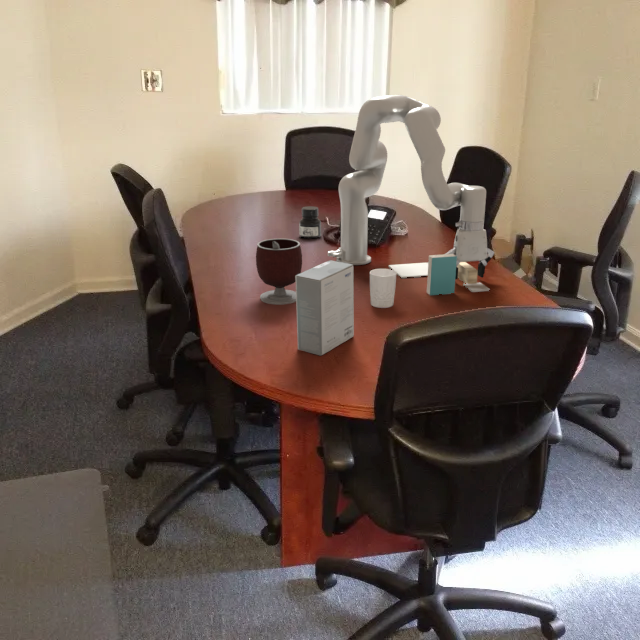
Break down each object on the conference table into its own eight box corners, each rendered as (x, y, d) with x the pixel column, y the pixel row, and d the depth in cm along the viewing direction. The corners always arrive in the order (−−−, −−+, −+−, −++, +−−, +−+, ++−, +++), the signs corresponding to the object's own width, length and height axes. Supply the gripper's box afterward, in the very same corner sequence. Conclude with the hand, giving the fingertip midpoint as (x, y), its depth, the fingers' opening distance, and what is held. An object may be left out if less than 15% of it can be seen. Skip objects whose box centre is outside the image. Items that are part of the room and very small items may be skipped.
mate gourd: (262, 290, 214) (259, 228, 206) (305, 291, 212) (304, 229, 205) (252, 306, 199) (249, 240, 192) (298, 308, 198) (297, 242, 191)
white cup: (367, 300, 204) (367, 268, 200) (392, 299, 205) (393, 268, 201) (371, 309, 197) (371, 276, 193) (397, 308, 197) (398, 276, 194)
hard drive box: (330, 330, 181) (330, 259, 174) (354, 336, 177) (355, 264, 170) (296, 349, 169) (294, 274, 162) (321, 356, 165) (320, 279, 158)
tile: (430, 295, 208) (432, 258, 204) (426, 292, 211) (428, 255, 207) (454, 293, 210) (456, 256, 206) (450, 290, 213) (453, 253, 208)
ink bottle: (295, 238, 276) (294, 209, 272) (303, 233, 284) (303, 205, 279) (317, 240, 273) (316, 211, 268) (325, 235, 280) (325, 206, 276)
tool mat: (401, 278, 224) (401, 276, 224) (388, 266, 237) (388, 265, 237) (468, 273, 229) (468, 271, 229) (452, 262, 242) (452, 260, 242)
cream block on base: (451, 276, 226) (452, 262, 224) (467, 275, 227) (469, 261, 226) (472, 292, 211) (473, 277, 209) (489, 290, 212) (491, 275, 211)
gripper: (450, 229, 209) (447, 282, 216) (502, 226, 213) (497, 278, 219) (441, 224, 216) (438, 275, 222) (491, 221, 220) (486, 272, 226)
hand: (467, 277), depth 221 cm, fingers open, 8 cm apart
